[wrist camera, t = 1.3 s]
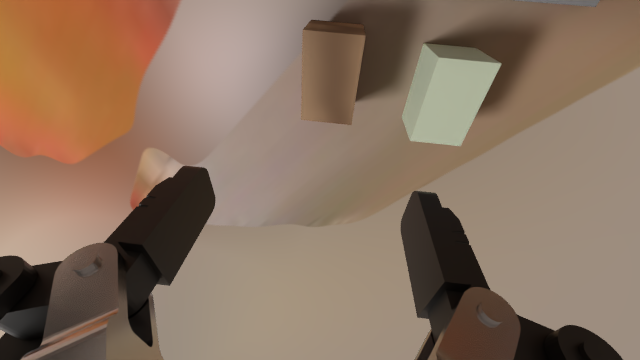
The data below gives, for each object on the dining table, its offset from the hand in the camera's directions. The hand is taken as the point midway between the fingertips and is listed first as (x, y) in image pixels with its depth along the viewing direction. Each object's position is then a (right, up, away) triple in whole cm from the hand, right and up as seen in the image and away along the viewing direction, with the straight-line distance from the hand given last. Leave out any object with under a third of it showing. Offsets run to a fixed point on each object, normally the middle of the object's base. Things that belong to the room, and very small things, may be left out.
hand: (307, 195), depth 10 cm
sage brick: (+12, +10, +14) cm, 21 cm away
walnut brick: (+2, +12, +14) cm, 18 cm away
